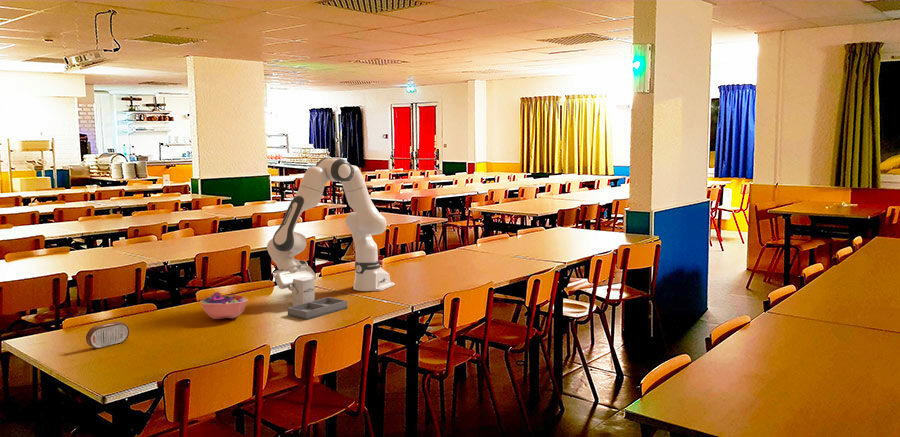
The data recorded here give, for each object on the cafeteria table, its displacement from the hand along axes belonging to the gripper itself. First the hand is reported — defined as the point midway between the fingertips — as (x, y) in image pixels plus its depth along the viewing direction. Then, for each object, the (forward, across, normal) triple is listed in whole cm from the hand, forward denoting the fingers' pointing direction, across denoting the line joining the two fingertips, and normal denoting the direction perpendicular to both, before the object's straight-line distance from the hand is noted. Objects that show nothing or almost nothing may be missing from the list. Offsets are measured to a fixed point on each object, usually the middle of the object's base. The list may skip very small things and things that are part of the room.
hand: (304, 291), depth 307 cm
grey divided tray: (+14, -4, -5) cm, 16 cm away
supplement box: (+4, 0, +5) cm, 7 cm away
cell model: (-3, -34, +13) cm, 37 cm away
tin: (-6, -82, +15) cm, 84 cm away
